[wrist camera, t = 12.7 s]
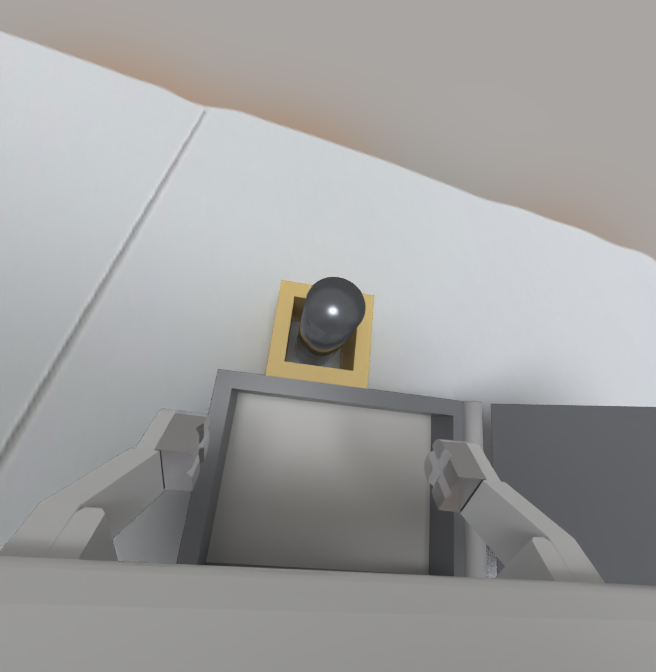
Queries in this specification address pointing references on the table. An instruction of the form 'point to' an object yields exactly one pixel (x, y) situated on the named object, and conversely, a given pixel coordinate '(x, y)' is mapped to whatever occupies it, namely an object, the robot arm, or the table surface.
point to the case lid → (586, 478)
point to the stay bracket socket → (349, 374)
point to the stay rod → (328, 319)
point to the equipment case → (328, 480)
